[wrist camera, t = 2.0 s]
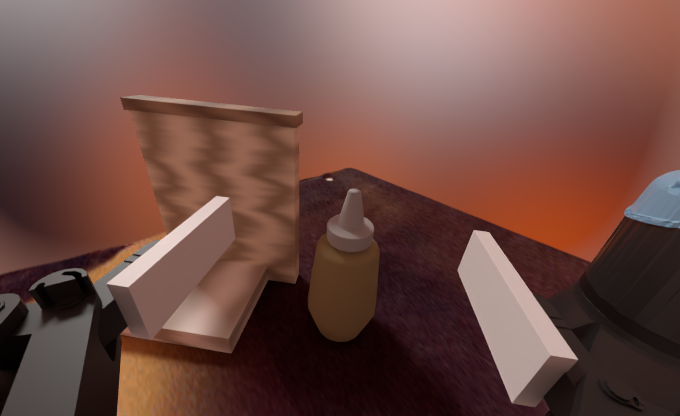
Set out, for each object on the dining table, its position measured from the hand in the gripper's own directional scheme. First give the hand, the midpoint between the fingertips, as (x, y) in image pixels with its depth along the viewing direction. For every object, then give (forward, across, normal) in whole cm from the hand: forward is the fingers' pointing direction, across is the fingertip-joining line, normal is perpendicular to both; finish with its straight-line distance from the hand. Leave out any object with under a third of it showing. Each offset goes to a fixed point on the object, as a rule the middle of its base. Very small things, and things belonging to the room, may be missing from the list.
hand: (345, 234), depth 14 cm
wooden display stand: (+10, -16, -20) cm, 27 cm away
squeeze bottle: (+10, 0, -20) cm, 22 cm away
